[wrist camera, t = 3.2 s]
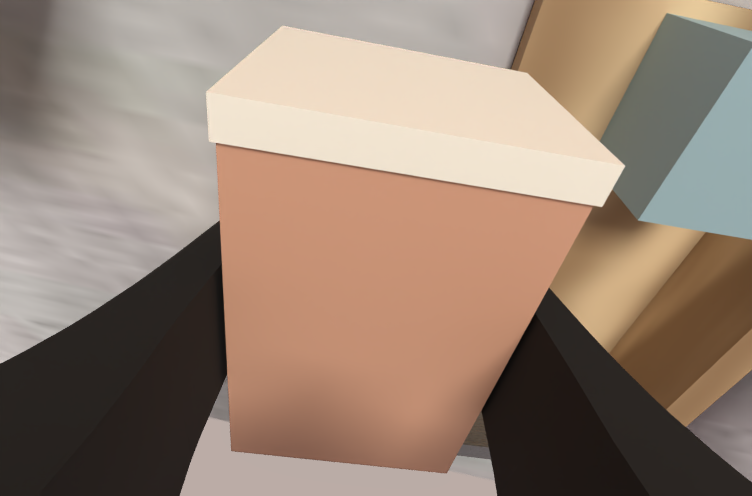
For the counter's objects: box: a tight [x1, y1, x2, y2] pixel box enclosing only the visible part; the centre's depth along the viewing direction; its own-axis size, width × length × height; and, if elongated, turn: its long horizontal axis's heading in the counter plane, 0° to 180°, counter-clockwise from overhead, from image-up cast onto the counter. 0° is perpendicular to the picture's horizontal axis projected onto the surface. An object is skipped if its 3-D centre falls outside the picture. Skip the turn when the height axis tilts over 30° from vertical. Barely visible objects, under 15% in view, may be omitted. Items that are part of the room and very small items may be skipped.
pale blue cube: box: [600, 13, 752, 240], centre depth 13 cm, size 4×5×4 cm
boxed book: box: [206, 26, 625, 473], centre depth 9 cm, size 5×8×4 cm, turn 170°
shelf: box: [511, 0, 752, 427], centre depth 18 cm, size 12×20×5 cm, turn 170°
